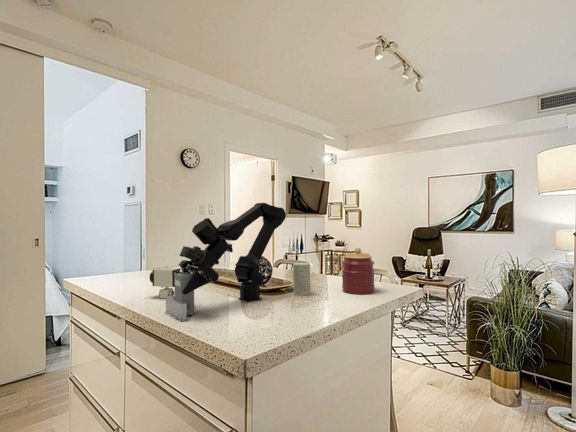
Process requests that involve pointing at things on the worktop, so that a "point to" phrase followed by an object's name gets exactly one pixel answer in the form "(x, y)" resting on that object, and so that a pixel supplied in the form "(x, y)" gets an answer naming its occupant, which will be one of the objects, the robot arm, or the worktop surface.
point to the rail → (177, 308)
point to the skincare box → (301, 278)
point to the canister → (358, 273)
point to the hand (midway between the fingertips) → (179, 292)
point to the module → (180, 284)
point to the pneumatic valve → (164, 280)
